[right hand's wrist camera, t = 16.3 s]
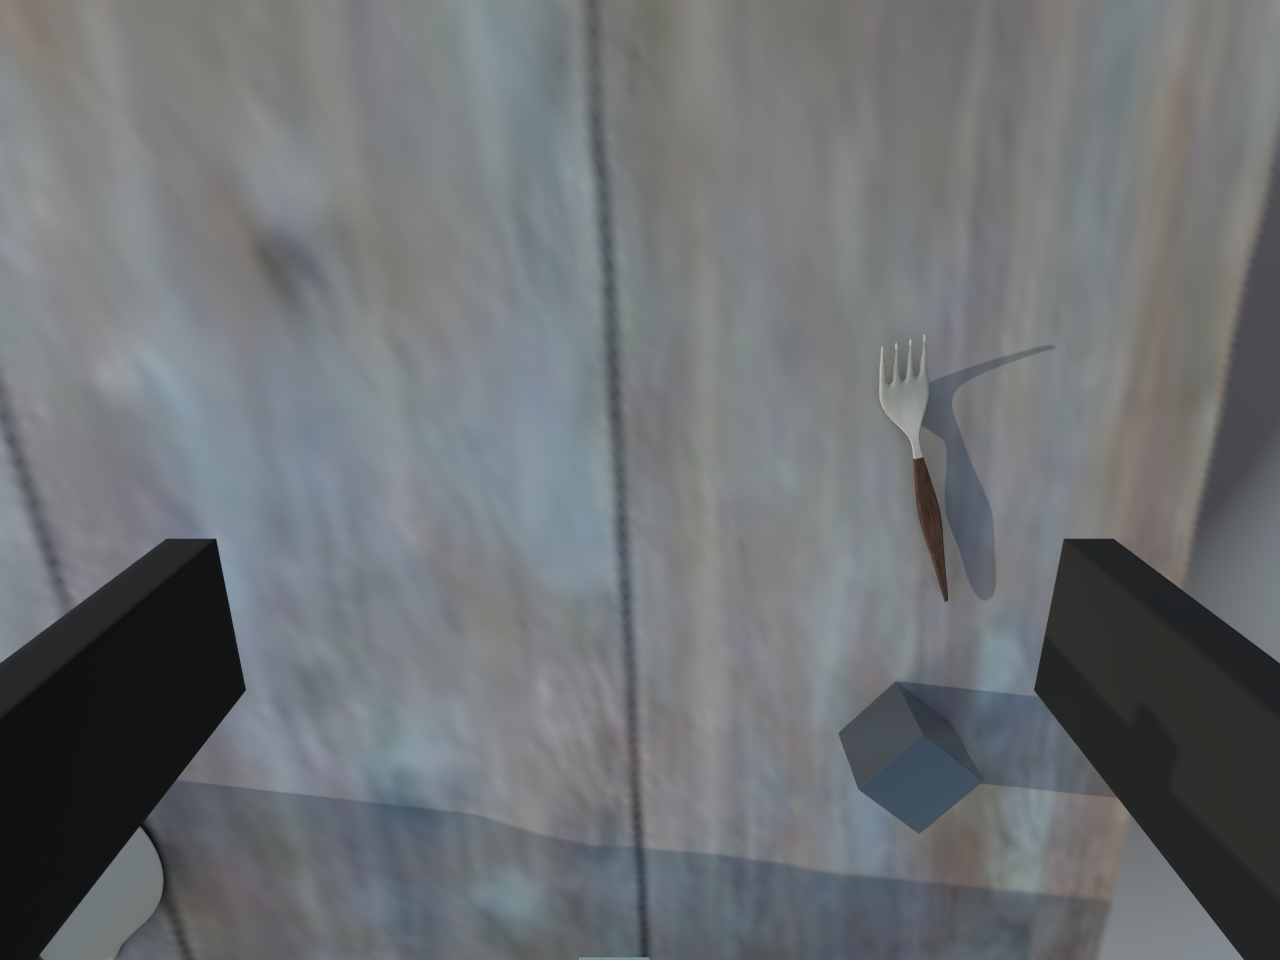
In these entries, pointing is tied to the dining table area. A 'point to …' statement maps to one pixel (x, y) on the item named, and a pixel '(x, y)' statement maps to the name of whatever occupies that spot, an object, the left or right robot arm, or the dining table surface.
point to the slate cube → (908, 758)
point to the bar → (614, 958)
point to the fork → (916, 446)
